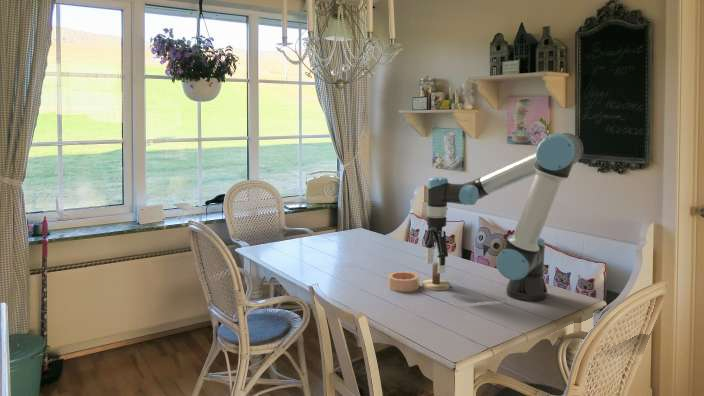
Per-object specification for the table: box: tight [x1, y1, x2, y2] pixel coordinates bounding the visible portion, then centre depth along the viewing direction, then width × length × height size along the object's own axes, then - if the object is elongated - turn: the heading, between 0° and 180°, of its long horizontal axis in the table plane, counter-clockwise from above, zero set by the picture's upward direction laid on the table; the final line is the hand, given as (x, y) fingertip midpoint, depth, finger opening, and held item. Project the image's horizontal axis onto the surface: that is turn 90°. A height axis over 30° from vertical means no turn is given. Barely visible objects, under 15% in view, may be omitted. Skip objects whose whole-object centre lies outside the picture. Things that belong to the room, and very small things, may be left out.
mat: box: [419, 282, 452, 292], centre depth 213 cm, size 10×10×1 cm
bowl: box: [387, 271, 420, 293], centre depth 213 cm, size 12×12×6 cm
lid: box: [421, 262, 451, 292], centre depth 213 cm, size 11×11×9 cm
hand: (435, 268), depth 212 cm, fingers open, 13 cm apart
